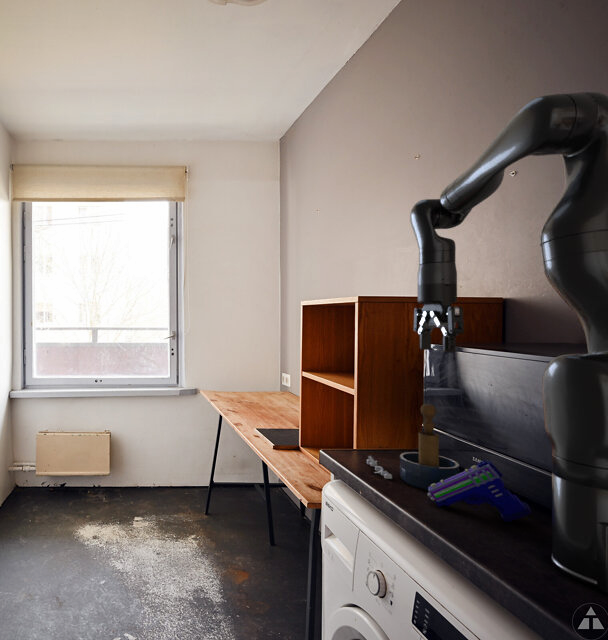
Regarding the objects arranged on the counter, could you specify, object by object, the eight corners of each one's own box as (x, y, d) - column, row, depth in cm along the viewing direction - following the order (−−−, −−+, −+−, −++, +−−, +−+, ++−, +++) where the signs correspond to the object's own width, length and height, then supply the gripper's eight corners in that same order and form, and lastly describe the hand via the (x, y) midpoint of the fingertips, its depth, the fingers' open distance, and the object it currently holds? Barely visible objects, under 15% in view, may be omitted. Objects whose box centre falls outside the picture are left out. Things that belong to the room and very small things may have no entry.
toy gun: (534, 512, 75) (489, 462, 79) (461, 539, 82) (422, 492, 85) (530, 504, 79) (487, 456, 82) (460, 530, 85) (423, 485, 89)
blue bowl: (471, 494, 91) (471, 469, 91) (417, 492, 92) (417, 467, 92) (438, 475, 102) (438, 452, 102) (390, 473, 103) (390, 451, 103)
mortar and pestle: (434, 476, 100) (434, 401, 100) (453, 486, 93) (453, 407, 93) (405, 475, 100) (405, 401, 100) (422, 485, 94) (421, 406, 94)
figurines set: (393, 479, 99) (393, 467, 99) (380, 478, 99) (380, 467, 99) (372, 462, 111) (372, 452, 111) (361, 462, 111) (361, 451, 111)
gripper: (403, 285, 105) (403, 348, 105) (439, 280, 91) (439, 353, 91) (434, 285, 105) (434, 349, 105) (476, 280, 91) (476, 353, 91)
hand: (436, 351), depth 98 cm, fingers open, 8 cm apart
